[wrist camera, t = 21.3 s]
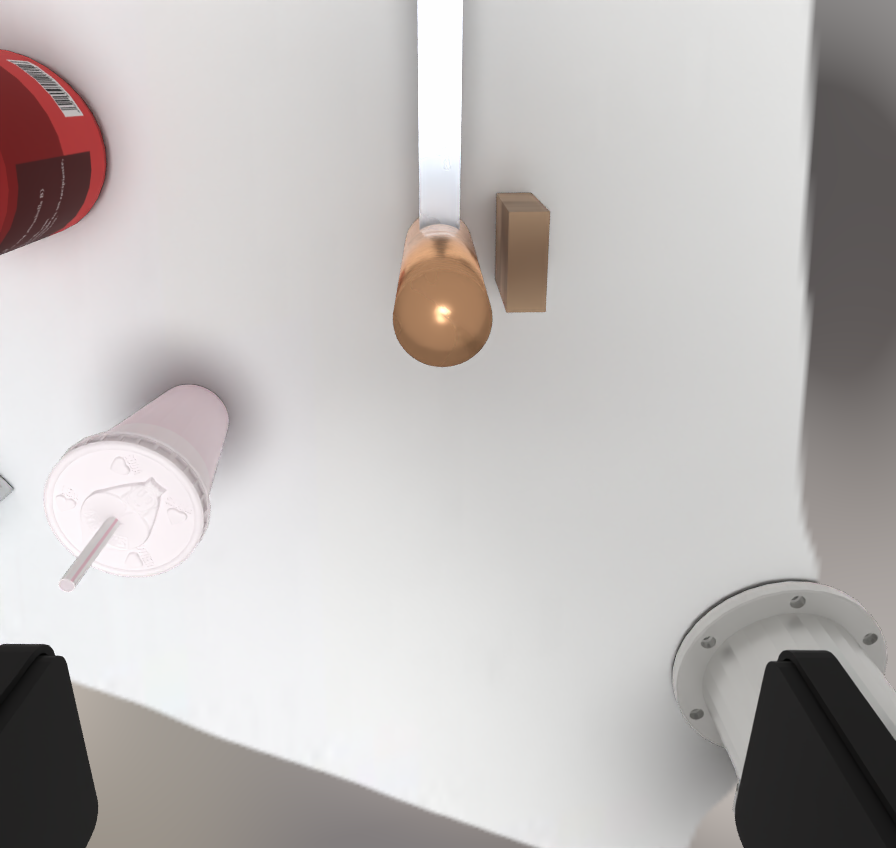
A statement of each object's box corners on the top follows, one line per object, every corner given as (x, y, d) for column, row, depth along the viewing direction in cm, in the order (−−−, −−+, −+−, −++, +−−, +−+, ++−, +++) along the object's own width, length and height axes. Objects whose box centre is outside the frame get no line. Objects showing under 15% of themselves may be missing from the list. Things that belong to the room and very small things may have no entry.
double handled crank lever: (470, 275, 35) (490, 366, 23) (406, 275, 35) (393, 366, 23) (479, -178, 28) (513, -366, 17) (399, -179, 28) (377, -369, 17)
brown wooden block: (528, 278, 37) (545, 312, 31) (495, 279, 36) (506, 312, 31) (531, 192, 35) (550, 211, 29) (496, 193, 35) (508, 212, 29)
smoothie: (103, 410, 39) (-58, 567, 26) (189, 333, 37) (63, 460, 24) (196, 494, 41) (89, 678, 28) (281, 424, 39) (209, 585, 27)
